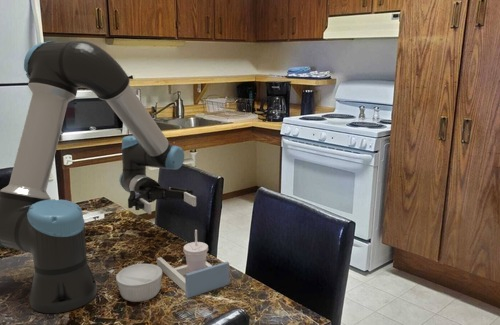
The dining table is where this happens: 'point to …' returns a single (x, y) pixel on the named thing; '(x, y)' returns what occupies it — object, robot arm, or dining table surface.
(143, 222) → the dining table surface
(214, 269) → the drawer frame
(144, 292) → the ramekin
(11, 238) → the robot arm
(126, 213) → the dining table surface
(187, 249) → the smoothie
